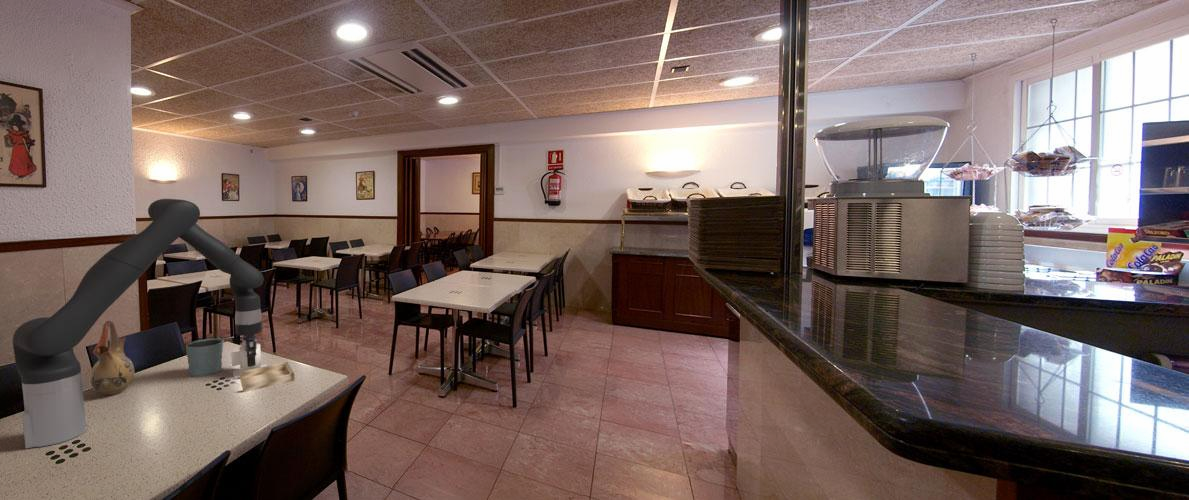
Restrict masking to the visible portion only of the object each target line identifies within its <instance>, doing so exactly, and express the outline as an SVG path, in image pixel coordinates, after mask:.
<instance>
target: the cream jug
mask: <svg viewBox="0 0 1189 500" xmlns="http://www.w3.org/2000/svg"><path fill="white" fill-rule="evenodd" d="M256 344H257V349H256V354H257V355H256V356H255V366H251V367H248V364H247V357H246V355H247V352H246V351H245V349H244V346H243V345H241V346H240V347H239V350H238V351H231V353H230V356H231V358H230V359H231V366H232V367H236V366H239V367H240V368H239V370H240V371H246V370H251V369H256V368H261V365H262V355H261V353H262V352H261V344H260V343H257V342H256ZM246 348H247V347H246ZM250 353H254V351H249V354H250Z"/></svg>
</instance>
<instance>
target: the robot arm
mask: <svg viewBox="0 0 1189 500" xmlns="http://www.w3.org/2000/svg"><path fill="white" fill-rule="evenodd" d="M147 214H148V216H149V218H150V219H151V220H152V222H151V223H149V225H148V226H147V227H145V229H143V230H142V231H141V232H139V233H137V234H136V235H134V236H132V237H131V238H129V239H127V240H125V241H123V242H121V243H120V244H118V245H117V246H115V247H113V248H111V249H110V250H109V251H108V252H106V253H105V254H104V255H102V256H101V257H100V258H99V259H98V260H97V261H96V262H94V264H93V265H92V266H90V268H89V269H88V270H87V271H86V273H85V274H84V276H83V277H82V279H81V280H80V282H79V284H78V286H77V288H76V290H75V291H74V293H73V295H72V296H71V297H70V299H69V300H68V301H67V302H66V303H65V304H64V305H63V306H62V307H61V308H59V309H58V310H57V311H56V312H55V313H54V314H52V315H51V316H50V317H47V316H44V317H38V318H33V319H31V320H28V321H26V322H24V323H22V324H21V325H20V326H19V327H17V329H16V330H15V331H14V334H13V336H12V349H13V354H14V355H13V356H14V360H15V366H16V370H17V372H18V374H19V376H20V379H21V388H22V395H23V406H24V411H23V413H22V414H21V417H22V419H21V420H22V427H23V437H24V446H25V449H29V448H30V449H31V448H38V447H39V448H42V447H46V446H51V445H52V446H53V445H56V444H60V443H63V442H66V441H69V440H72V439H75V438H77V437H80V436H81V435H82V434H84V433H85V432H86V431H87V421H86V420H87V419H86V412H85V411H86V410H85V399H84V390H83V389H84V388H83V377H82V366H81V362H80V361H79V359H78V358H77V355H75V351H74V348H75V347H77V345H78V344H79V343H80V342H81V341H82V340H83V339H85V337H86V335H87V334H88V333H89V331H90V330H91V329H92V328H93V326H94V325H95V324H96V322H97V321H98V320H99V319H100V318H101V316H102V315H103V314H104V313H105V312H106V311H107V309H109V308H110V307H111V306H112V305H113V304H114V303H115V302H116V301H117V300H118V299H119V298H120V297H121V296H122V295H123V294H124V293H125V292H126V291H127V290H128V289H129V288H130V287H132V285H134V284H135V282H136V281H138V280H139V278H140V277H141V276H142V275H144V274H145V272H146V271H147V270H148V269H149V268H150V266H151V265H153V263H154V262H156V260H158V258H159V257H160V256H161V255H162V254H163V253H164V252H165V251H166V250H167V249H168V248H169V247H170V246H171V245H172V244H173V243H174V242H175V241H176V240H177V239H181V240H183V241H184V242H185V243H186V244H188V245H189V246H190V247H191V248H193V249H194V250H196V252H198V253H199V254H200V255H201V256H203V258H205V259H206V260H207V261H208V262H209V263H210V264H212V265H213V266H214V267H216V268H217V269H218V270H219V271H221V272H222V273H225V274H228V275H230V277H229V287H230V289H231V292H232V295H233V297H234V300H235V315H234V320H235V321H234V323H235V324H234V325H235V334H236V336H240V337H242V338H241V339H242V344H243V345H242V346H244V349H245V351H246V352H247V355H246V357H247V364H248V367H251V366H255V356H256V355H257V354H256V349H257V344H256V343H257V342H258V337H257V336H256V335H257V334H260V333H262V332H263V318H262V310H261V297H260V295H259V294H257V292H255V291H254V289H257V288H260V287H261V286H262V285H263V283H264V280H265V279H264V275H263V274H262V273H261V271H260V270H259V269H257V268H256V267H254V265H252V264H250V263H249V262H247V261H245V260H244V259H242V258H241V257H240V256H239V255H238V253H236V252H235V251H234V250H232V249H231V247H229V246H228V245H227V244H225V243H224V241H223V242H222V240H220V239H218V238H216V237H215V236H213V235H211V234H210V233H208V232H207V231H205V230H204V229H203V228H202V227H201V226H199V225H198V221H199V219H200V216H201V211H200V208H199V207H198V206H197V204H196V203H193V202H192V201H190V200H187V199H186V200H185V199H175V198H161V199H157V200H155V201H153V202H151V203H150V204H149V206H148V208H147ZM246 347H247V348H246ZM249 351H254V353H250V354H249Z"/></svg>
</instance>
